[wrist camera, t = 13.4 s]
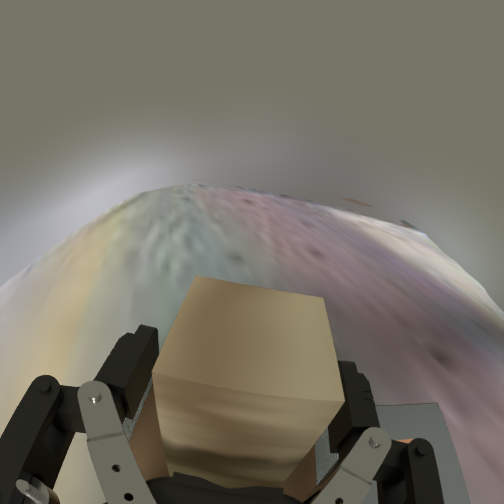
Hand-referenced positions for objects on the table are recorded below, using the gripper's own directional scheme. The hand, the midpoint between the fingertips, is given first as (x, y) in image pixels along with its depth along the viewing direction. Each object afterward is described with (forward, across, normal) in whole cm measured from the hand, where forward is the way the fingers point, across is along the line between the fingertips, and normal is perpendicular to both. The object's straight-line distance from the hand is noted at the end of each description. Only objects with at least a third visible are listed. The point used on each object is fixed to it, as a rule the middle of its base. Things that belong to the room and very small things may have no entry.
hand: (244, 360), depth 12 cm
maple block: (-2, 0, +8) cm, 9 cm away
